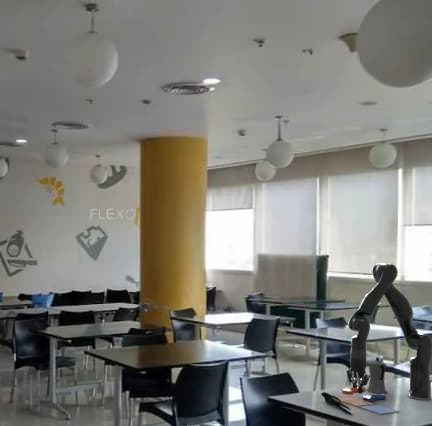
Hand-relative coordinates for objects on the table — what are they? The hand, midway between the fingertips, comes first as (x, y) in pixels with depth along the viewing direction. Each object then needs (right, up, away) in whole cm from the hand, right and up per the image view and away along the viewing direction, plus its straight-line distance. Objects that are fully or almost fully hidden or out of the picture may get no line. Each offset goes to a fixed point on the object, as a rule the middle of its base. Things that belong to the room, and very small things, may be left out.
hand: (357, 392), depth 307 cm
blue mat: (+4, -4, -15) cm, 16 cm away
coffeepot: (+20, -7, +23) cm, 31 cm away
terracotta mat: (-2, -4, -1) cm, 5 cm away
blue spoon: (+11, -5, +5) cm, 13 cm away
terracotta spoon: (-2, 0, -1) cm, 2 cm away
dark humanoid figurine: (-13, -4, -13) cm, 19 cm away
